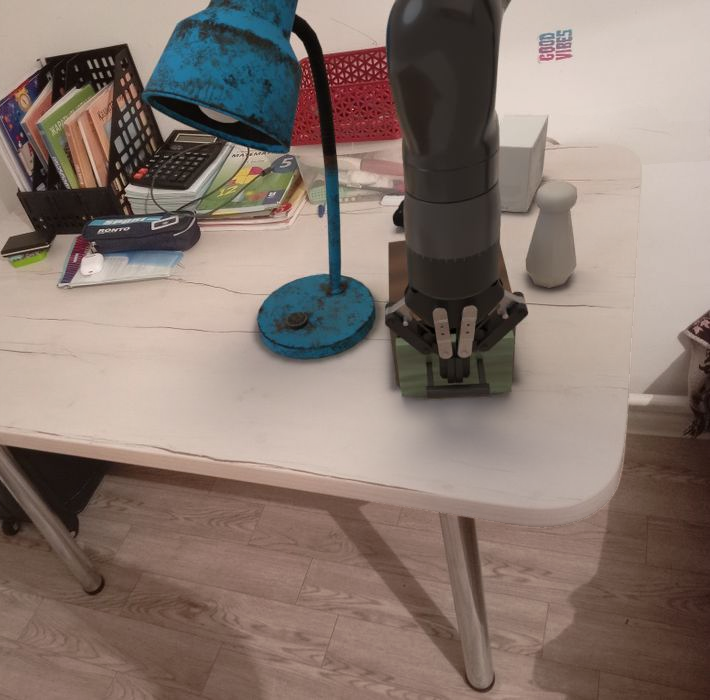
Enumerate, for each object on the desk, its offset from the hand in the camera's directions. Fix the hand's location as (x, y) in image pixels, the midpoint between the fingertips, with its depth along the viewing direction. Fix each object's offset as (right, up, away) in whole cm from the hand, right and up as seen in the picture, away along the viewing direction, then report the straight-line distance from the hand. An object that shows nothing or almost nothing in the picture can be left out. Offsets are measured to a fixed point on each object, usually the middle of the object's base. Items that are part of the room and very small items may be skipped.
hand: (454, 377), depth 62 cm
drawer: (+3, +1, +9) cm, 9 cm away
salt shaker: (+18, +12, +17) cm, 27 cm away
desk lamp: (-13, +6, +21) cm, 26 cm away
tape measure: (+6, +22, +33) cm, 40 cm away
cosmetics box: (+21, +27, +33) cm, 47 cm away
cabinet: (+4, +4, +13) cm, 14 cm away
